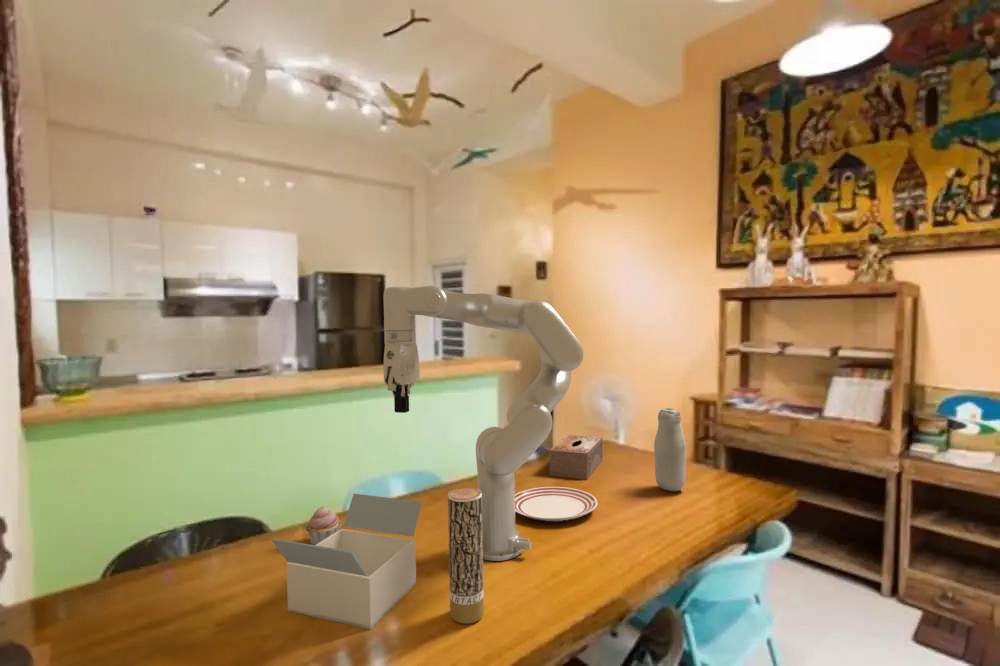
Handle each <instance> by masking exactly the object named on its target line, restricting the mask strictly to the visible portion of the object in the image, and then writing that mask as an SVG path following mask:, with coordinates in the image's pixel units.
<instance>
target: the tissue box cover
mask: <svg viewBox="0 0 1000 666" xmlns="http://www.w3.org/2000/svg"><path fill="white" fill-rule="evenodd" d="M548 453H549V454H548V455H549V456H548V457H549V459H548V460H549V463H548V464H549V476H550V477H559V478H567V479H575V480H576V479H577V480H585V481H588V480H589V479H590V477H592V474H594V472H595V471H597V469H598V467H600V465H601V463H602V462H603V437H599V436H588V435H573V434H567V435H566V436H565V437H563V438H562V439H561V440H560V441H558V442H557V443H556V444H555V445H554V446H553V447H551V448H550V449H549V451H548Z"/></svg>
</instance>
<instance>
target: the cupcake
mask: <svg viewBox="0 0 1000 666" xmlns="http://www.w3.org/2000/svg"><path fill="white" fill-rule="evenodd" d="M342 524H343V523H342V522H340V519H339V516H338V515H337V514H336V512H334V510H330V509H327V507H326V506H325V505H322V506H321V507H319V508H317V509H316V511H314V513H313V515H312V516H311V517H310V519H309V520H308V524H307V526H305V527H304V528H305V531H306V532H307V534H308V537H309V540H310V545H316V544H318V543H320V542H321V541H323V540H324V539H326V538H328V537H329V536H331V535H332V534H334V533H335V532H337V531H339V530H340V529H341V527H342Z"/></svg>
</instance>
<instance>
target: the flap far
mask: <svg viewBox="0 0 1000 666" xmlns="http://www.w3.org/2000/svg"><path fill="white" fill-rule="evenodd" d="M352 494H353V495H352V497H351V501H350V504H349V507H348V510H347V513H346V517H345V520H344V521H343V522H344V523H343V527H344V528H352V529H357V530H358V529H359V530H364V531H371V532H372V531H373V532H380V533H384V534H385V533H386V534H392V535H399V536H405V537H414V536H415V535H414V534H415V531H416V527H417V523H418V519H419V516H420V512H421V508H422V505H423V501H418V500H410V499H403V498H394V497H386V496H378V495H369V494H360V493H352Z"/></svg>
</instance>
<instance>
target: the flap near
mask: <svg viewBox="0 0 1000 666" xmlns="http://www.w3.org/2000/svg"><path fill="white" fill-rule="evenodd" d="M270 540H271V542H272V543H273V544H274V546H275V547H276V548H277V549H278V551H279V552H280V554H282V555H281V556H283V557H284V559H285V560H286V562H287V563H288V562H292V563H297V564H303V565H308V566H314V567H319V568H325V569H330V570H336V571H341V572H347V573H352V574H358V575H363V576H366V575H367V574H366V572H365V571H364V569H363V568H362V566H361V564H360V563H359V561H358V560H357V558H356V556H355V555H354V553H353V552H352V551H346V550H340V549H334V548H328V547H322V546H316V545H311V543H310V544H308V543H303V542H297V541H291V540H285V539H279V538H273V537H271V539H270Z"/></svg>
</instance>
